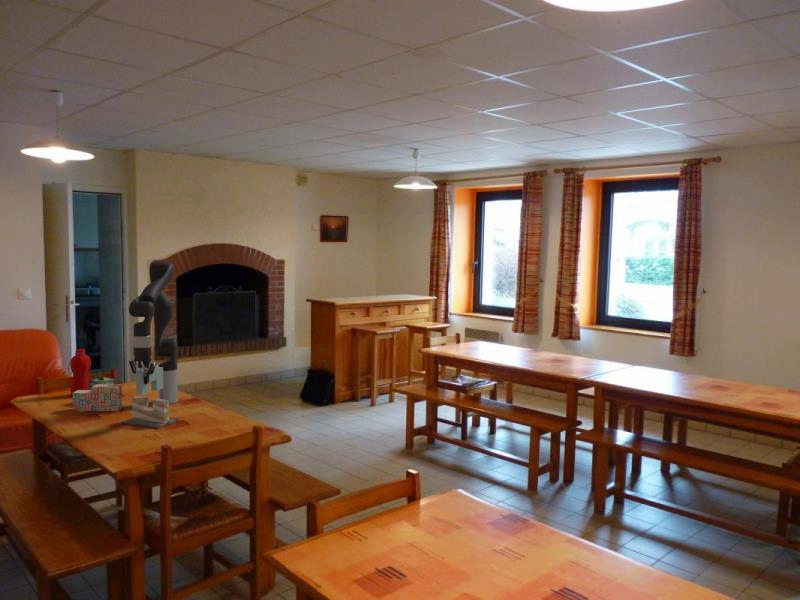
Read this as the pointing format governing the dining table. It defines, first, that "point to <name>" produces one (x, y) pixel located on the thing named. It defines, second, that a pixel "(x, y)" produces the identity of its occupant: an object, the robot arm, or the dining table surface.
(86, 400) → the stack of blocks
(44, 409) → the dining table surface
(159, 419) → the stand
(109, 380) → the chalk box
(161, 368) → the sage crossbar
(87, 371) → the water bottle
